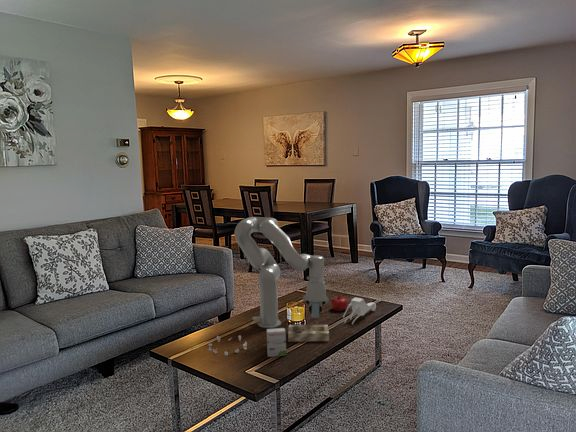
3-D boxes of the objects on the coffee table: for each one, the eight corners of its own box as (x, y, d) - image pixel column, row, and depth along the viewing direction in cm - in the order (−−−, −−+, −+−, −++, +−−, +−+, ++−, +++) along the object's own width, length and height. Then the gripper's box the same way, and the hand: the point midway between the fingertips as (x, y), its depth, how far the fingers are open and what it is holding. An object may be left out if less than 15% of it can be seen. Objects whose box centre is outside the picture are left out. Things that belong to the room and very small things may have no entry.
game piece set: (203, 343, 227) (203, 336, 226) (242, 337, 234) (242, 330, 233) (211, 359, 209) (210, 351, 208) (253, 352, 215) (253, 344, 215)
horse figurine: (356, 340, 251) (379, 309, 269) (350, 314, 243) (373, 284, 262) (348, 337, 254) (371, 307, 272) (341, 312, 247) (365, 282, 265)
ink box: (285, 351, 214) (284, 327, 213) (286, 356, 209) (285, 331, 208) (267, 352, 213) (266, 328, 212) (267, 357, 208) (266, 332, 207)
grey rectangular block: (311, 317, 242) (311, 303, 241) (311, 315, 246) (311, 300, 245) (319, 318, 242) (319, 303, 241) (318, 315, 246) (319, 301, 245)
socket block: (288, 341, 226) (288, 333, 226) (289, 332, 238) (288, 324, 237) (329, 341, 225) (329, 332, 225) (327, 332, 237) (327, 324, 237)
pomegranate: (351, 309, 273) (351, 293, 272) (341, 313, 266) (340, 297, 265) (337, 305, 280) (337, 290, 279) (327, 309, 273) (327, 294, 271)
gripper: (300, 280, 238) (299, 314, 240) (332, 281, 237) (331, 315, 240) (300, 276, 245) (299, 310, 248) (331, 277, 245) (330, 311, 247)
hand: (315, 312), depth 244 cm, fingers closed on grey rectangular block, 4 cm apart
